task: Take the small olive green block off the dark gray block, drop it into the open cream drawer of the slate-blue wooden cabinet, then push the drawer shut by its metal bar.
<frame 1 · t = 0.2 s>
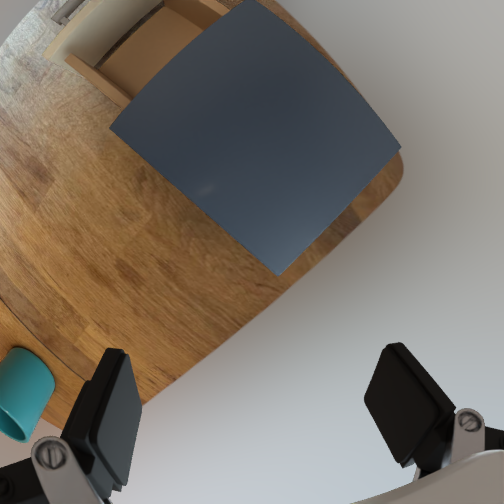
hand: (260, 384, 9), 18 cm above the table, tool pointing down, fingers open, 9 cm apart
cabinet: (251, 136, 24), on the table
cup: (31, 374, 30), on the table
drawer: (137, 35, 16), point 4 cm above the table, slide at 9.0 cm
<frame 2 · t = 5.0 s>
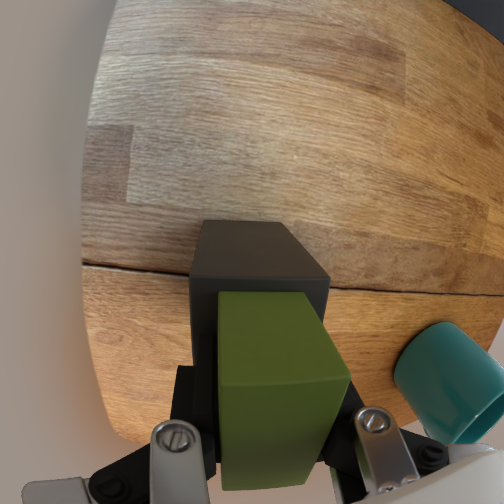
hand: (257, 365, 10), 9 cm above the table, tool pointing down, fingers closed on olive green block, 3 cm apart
dark gray block: (240, 272, 19), on the table
cup: (421, 364, 25), on the table
olive green block: (256, 358, 11), point 9 cm above the table, touching gripper, dark gray block
when the fingers open (3 cm above the table, at t = 14.0 s): olive green block moves 1 cm, resting on drawer.
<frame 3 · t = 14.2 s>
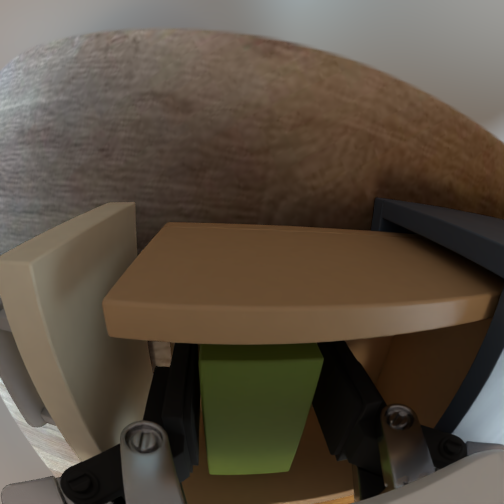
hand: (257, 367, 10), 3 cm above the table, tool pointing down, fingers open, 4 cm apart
cabinet: (448, 310, 15), on the table
olive green block: (244, 348, 11), point 2 cm above the table, touching drawer
drawer: (214, 385, 9), point 4 cm above the table, slide at 10.1 cm, touching gripper, olive green block
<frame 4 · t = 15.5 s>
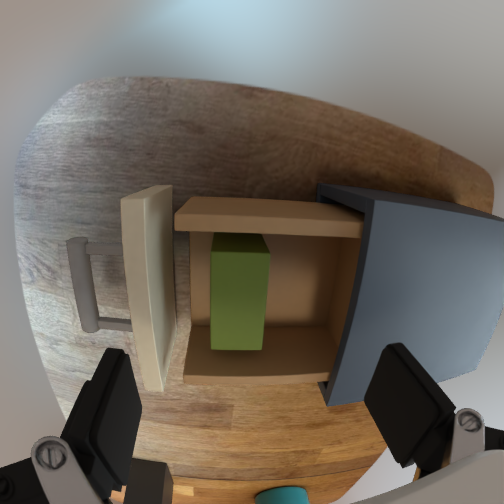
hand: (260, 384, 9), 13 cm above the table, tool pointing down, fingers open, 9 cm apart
cabinet: (387, 266, 22), on the table
dark gray block: (153, 471, 30), on the table
cup: (280, 496, 36), on the table
olive green block: (235, 273, 19), point 2 cm above the table, touching drawer
drawer: (216, 287, 17), point 4 cm above the table, slide at 10.0 cm, touching olive green block
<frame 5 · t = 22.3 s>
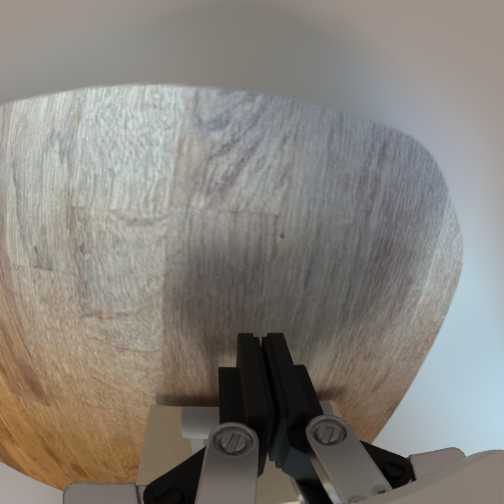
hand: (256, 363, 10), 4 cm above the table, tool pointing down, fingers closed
drawer: (246, 483, 13), point 4 cm above the table, slide at 8.0 cm, touching gripper, olive green block
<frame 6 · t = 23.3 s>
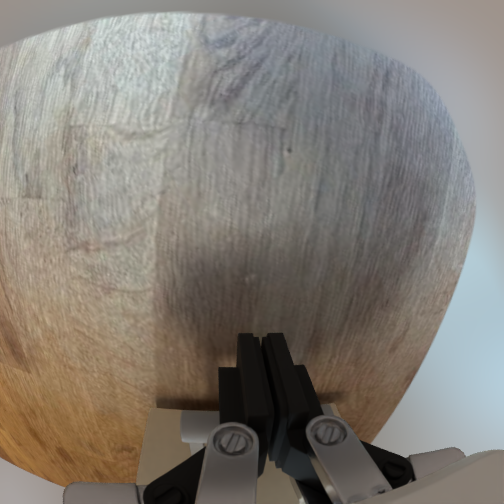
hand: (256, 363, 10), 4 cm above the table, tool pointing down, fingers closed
drawer: (246, 486, 13), point 4 cm above the table, slide at 4.1 cm, touching gripper, olive green block
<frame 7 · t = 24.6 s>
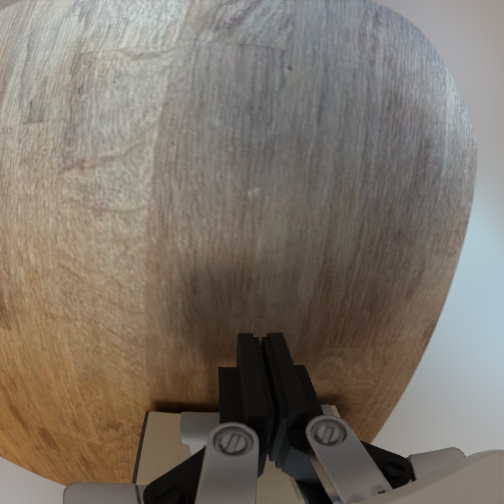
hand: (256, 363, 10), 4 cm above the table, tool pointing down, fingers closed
drawer: (247, 489, 13), point 4 cm above the table, slide at 0.0 cm, touching cabinet, gripper, olive green block
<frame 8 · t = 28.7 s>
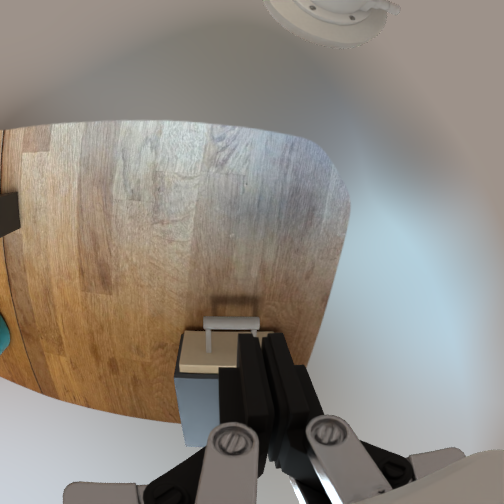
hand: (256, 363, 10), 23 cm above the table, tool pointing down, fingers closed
cabinet: (227, 374, 39), on the table
dark gray block: (3, 211, 28), on the table
drawer: (229, 374, 34), point 4 cm above the table, slide at 0.0 cm, touching cabinet, olive green block
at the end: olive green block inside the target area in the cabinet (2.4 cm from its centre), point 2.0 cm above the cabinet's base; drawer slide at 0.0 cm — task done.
